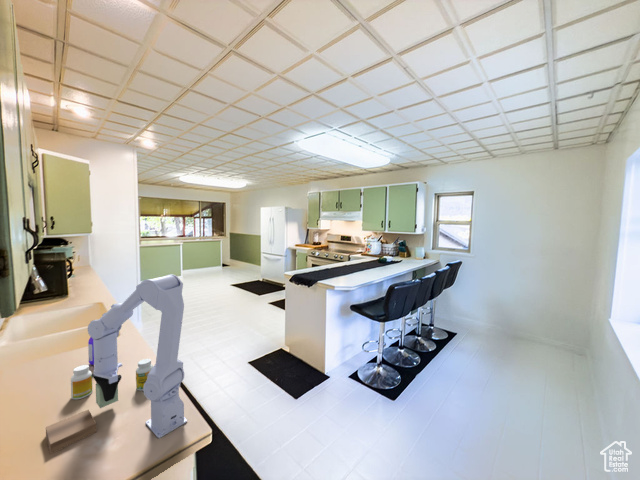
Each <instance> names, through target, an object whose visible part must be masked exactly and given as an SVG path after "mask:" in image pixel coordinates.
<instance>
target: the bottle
mask: <svg viewBox="0 0 640 480" xmlns="http://www.w3.org/2000/svg"><path fill="white" fill-rule="evenodd" d="M87 345H88V346H87V349H88V365H92V366H94V345H93V338H91V337H90V336H89V339H88V342H87Z"/></svg>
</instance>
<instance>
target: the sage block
mask: <svg viewBox="0 0 640 480" xmlns="http://www.w3.org/2000/svg"><path fill="white" fill-rule="evenodd" d="M118 401H119V384H118V385H117V388H116V392H115V396H114V399H111V400H109V401H107V402H106V401H105V400H104V396H103V392H102V389H101V387H100V386H99V385H98V383H95V403H96V404H97V406H98V407H99V409H102V408H104V407H105V408H106V406H109V405H111V404H114V403H116V402H118Z"/></svg>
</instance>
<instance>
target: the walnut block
mask: <svg viewBox="0 0 640 480" xmlns="http://www.w3.org/2000/svg"><path fill="white" fill-rule="evenodd" d="M95 433H97V423H96V421H95V418H94V416H93V415H92V413H91V411H90V410H89V409H86V410H85V411H81V412H78V413H77V414H74V415H71V416H70V417H67V418H65V419H62V420H59V421H57V422H54V423H53V424H50V425H48V426H46V427H45V438H46V442H47V446H48V449H49V453H50V454H51V455H52V454H53V453H55V452H58V451H61V450H62V449H64V448H66V447H68V446H70V445H72V444H75V443H77V442H79V441H81V440H83V439H85V438H87V437H90V436H92V435H93V434H95Z"/></svg>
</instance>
